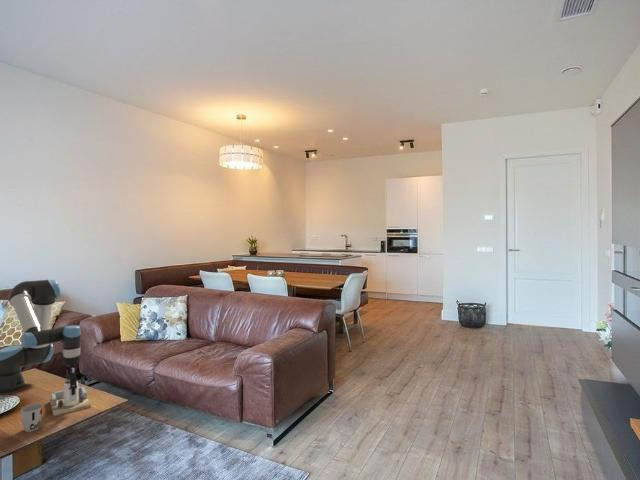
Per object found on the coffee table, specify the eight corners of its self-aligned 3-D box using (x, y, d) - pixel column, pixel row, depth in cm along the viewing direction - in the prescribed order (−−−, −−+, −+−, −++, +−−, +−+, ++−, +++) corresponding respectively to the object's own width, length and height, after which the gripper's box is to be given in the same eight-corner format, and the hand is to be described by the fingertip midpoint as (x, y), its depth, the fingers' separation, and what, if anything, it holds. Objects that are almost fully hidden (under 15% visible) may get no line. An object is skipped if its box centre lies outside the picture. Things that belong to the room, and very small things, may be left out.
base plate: (49, 401, 202) (49, 393, 202) (84, 394, 212) (84, 386, 212) (53, 415, 187) (53, 406, 187) (90, 407, 197) (90, 398, 197)
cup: (30, 434, 169) (30, 412, 169) (15, 432, 171) (16, 410, 171) (46, 425, 177) (47, 404, 177) (32, 423, 179) (33, 402, 179)
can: (75, 400, 201) (75, 378, 201) (80, 403, 197) (80, 381, 197) (61, 404, 196) (61, 381, 196) (65, 408, 192) (66, 384, 192)
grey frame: (51, 398, 202) (51, 392, 202) (83, 391, 212) (83, 386, 212) (52, 405, 194) (53, 399, 194) (86, 398, 204) (86, 392, 203)
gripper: (60, 351, 203) (59, 389, 204) (66, 363, 184) (65, 406, 185) (76, 348, 208) (76, 386, 208) (83, 360, 189) (83, 402, 189)
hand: (70, 396), depth 196 cm, fingers open, 13 cm apart
